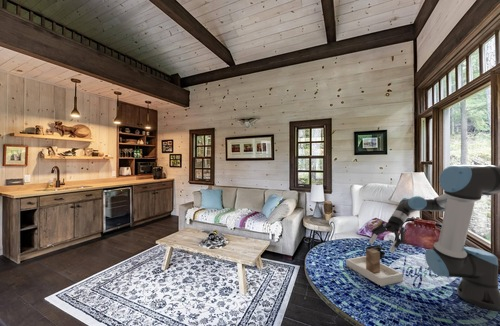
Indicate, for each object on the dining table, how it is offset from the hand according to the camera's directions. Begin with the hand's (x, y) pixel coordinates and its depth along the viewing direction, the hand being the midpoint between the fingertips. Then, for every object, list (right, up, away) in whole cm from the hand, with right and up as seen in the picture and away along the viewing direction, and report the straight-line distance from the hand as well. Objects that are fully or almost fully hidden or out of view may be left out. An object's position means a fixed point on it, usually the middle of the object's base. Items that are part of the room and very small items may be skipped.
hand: (380, 247), depth 127 cm
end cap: (+9, -14, +20) cm, 26 cm away
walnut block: (-6, -13, -3) cm, 15 cm away
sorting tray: (-6, -14, -3) cm, 16 cm away
